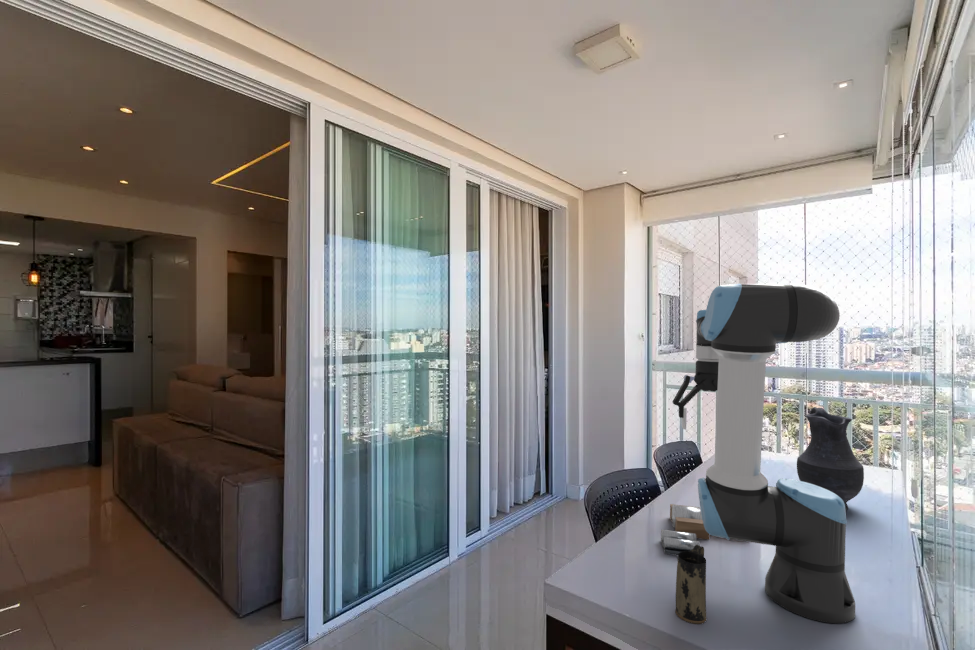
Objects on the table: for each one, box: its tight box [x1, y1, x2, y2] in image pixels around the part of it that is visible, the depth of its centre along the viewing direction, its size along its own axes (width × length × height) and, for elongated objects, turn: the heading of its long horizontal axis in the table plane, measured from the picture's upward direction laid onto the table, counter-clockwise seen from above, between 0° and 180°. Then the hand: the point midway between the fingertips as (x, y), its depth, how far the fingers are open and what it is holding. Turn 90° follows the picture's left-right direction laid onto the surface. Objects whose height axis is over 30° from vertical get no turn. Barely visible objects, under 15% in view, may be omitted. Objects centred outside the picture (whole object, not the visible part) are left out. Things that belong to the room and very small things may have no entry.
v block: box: [660, 529, 701, 556], centre depth 115 cm, size 8×7×3 cm
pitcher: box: [796, 406, 865, 511], centre depth 149 cm, size 17×21×30 cm
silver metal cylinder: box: [671, 504, 702, 529], centre depth 127 cm, size 8×6×6 cm
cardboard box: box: [669, 503, 710, 540], centre depth 127 cm, size 12×8×4 cm, turn 166°
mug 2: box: [675, 545, 708, 625], centre depth 89 cm, size 8×6×12 cm
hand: (707, 430), depth 140 cm, fingers open, 13 cm apart
